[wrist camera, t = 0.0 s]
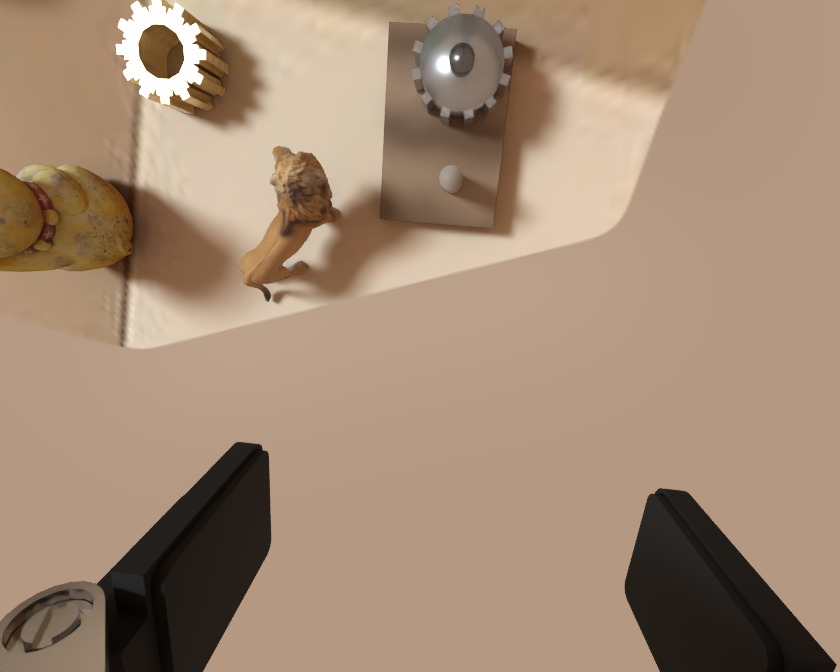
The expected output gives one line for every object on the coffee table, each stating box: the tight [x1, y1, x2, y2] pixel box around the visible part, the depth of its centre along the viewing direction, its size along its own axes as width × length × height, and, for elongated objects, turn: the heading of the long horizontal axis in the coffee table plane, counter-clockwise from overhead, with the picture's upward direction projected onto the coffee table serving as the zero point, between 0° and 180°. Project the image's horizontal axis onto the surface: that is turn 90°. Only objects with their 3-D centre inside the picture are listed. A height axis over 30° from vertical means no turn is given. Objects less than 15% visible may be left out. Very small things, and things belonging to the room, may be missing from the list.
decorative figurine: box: [0, 165, 134, 272], centre depth 34 cm, size 10×8×15 cm
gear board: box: [380, 22, 517, 228], centre depth 33 cm, size 15×10×6 cm, turn 176°
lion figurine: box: [240, 146, 339, 302], centre depth 35 cm, size 15×5×9 cm, turn 150°
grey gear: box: [412, 4, 513, 127], centre depth 31 cm, size 7×7×4 cm
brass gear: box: [116, 0, 229, 114], centre depth 35 cm, size 7×7×4 cm
